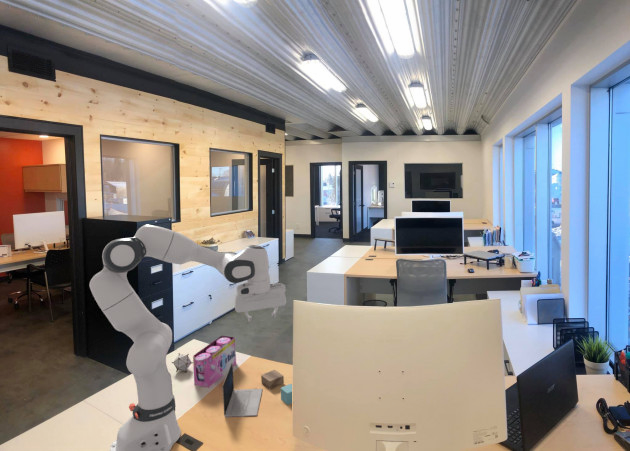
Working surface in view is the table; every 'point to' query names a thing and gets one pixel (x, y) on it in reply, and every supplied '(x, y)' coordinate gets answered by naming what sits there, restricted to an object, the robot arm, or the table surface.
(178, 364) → the grey spiked polyhedron
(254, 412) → the laptop
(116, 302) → the robot arm
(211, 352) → the gum box
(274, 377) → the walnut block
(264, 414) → the table surface
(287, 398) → the teal cube
